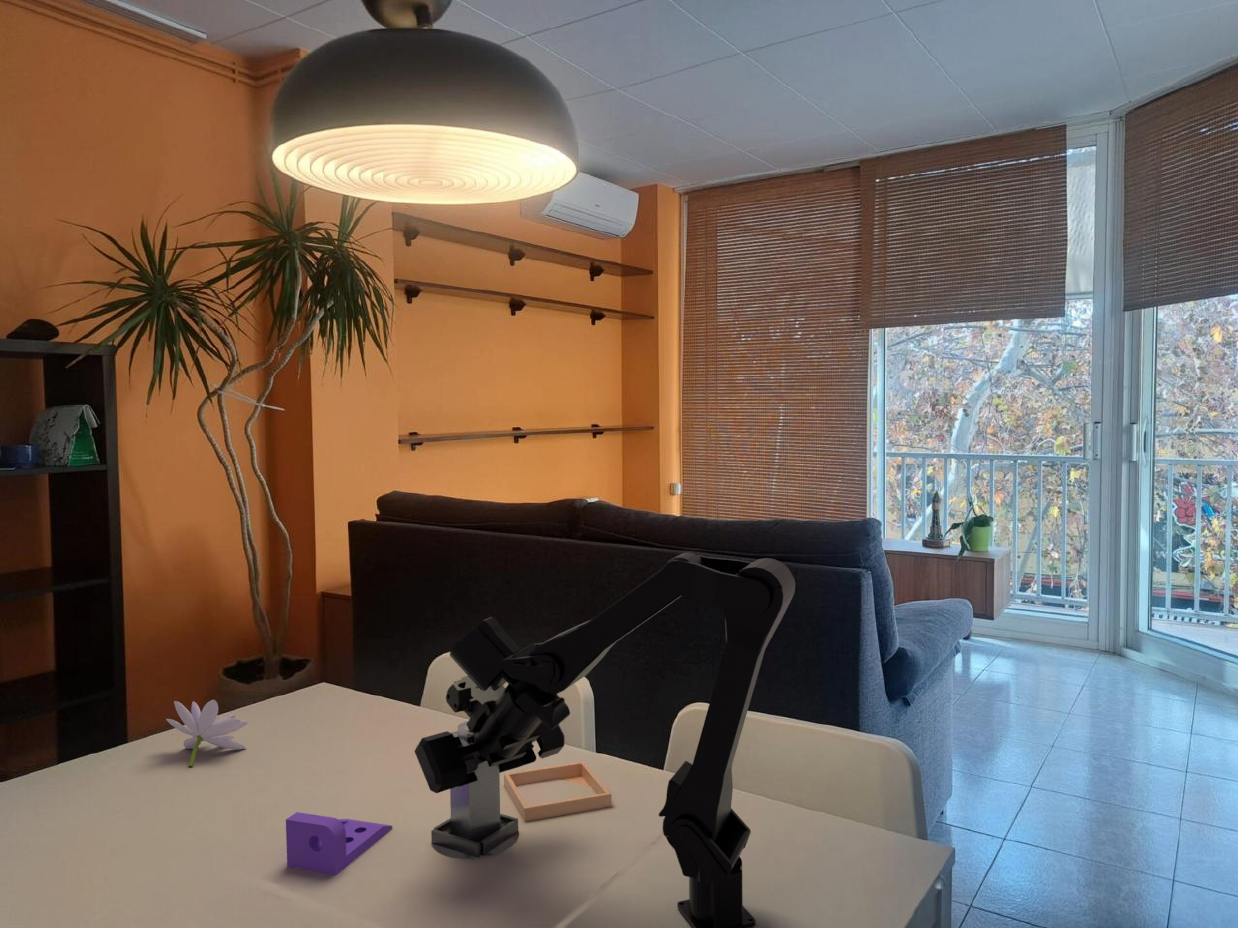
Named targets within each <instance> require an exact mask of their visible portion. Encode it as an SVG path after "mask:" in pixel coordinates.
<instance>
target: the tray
mask: <svg viewBox="0 0 1238 928" xmlns="http://www.w3.org/2000/svg"><path fill="white" fill-rule="evenodd" d="M551 780H561V781H565V782H570V783H573V784H578V785H582V786H586V787H589V788H591V789H592V790H593V791H594V792H595V794H592V795H586V796H579V797H574V798H568V799H562V800H555V801H550V802H545V803H537V804H532V805H528V804H527V801H525V799H524V797H523V796H522V794H521V792H520V791H519V789H518V788H517V786H520V785H521V786H522V785H526V784H533V783H541V782H546V781H551ZM503 787H504V788H505V790H506V792H507V793H508V795H509V796H510V798H511V800H512V802H513V804H514V805H515V807H516V809H517V810H518V812H519V814H520V816H521V818H522V820H523V821H524V822H532V821H535V820H543V819H548V818H552V817H558V816H565V815H570V814H571V815H572V814H576V813H581V812H588V811H592V810H593V811H594V810H599V809H605V808H609V807H612V793H611V791H610V790H609V789H608V788H607V787H606V786H605V784H604V783H603V782H602V780H601V779H599V778H598V776H597V775H596V774H595V772H594V771H593V770H592V769H591V768H590V767H589V765H588V764H587V763H586V762H585V761H583V760H582V761H579V762H571V763H564V764H559V765H551V766H545V767H539V768H532V769H527V770H519V771H514V772H513V771H512V772H507V773H503Z"/></svg>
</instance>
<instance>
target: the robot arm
mask: <svg viewBox="0 0 1238 928" xmlns="http://www.w3.org/2000/svg"><path fill="white" fill-rule="evenodd" d="M795 592H796V581H795V577H794V576H793V574H792V572H791V570H790V568H788V566H786V564H785V563H783V562H781V561H779V560H777V559H775V558H770V557H769V558H768V557H764V558H759V559H756V560H754V561H753V562H750V561H746V560H740V559H733V558H725V557H724V558H723V557H711V556H706V555H705V556H704V555H700V554H696V553H693V552H683V553H681V554H679V555H676V556H675V557H672V558H671V559H668V560H667V561H666V562H665V563H664V564H663V566H662V567H661V568H660V569H659V570H657V571H656V572H654V573H653V574H652V575H650V576H648V578H647V579H645V580H643V581H642V582H640V583H639V584H638V585H637V586H635V587H634V588H632V589H630V590H629V591H628V592H627V593H626V594H624V595H623V596H622V597H620V598H618V599H617V600H616V601H614V602H613V603H612V604H610V605H609V606H607V608H605V609H604V610H602V611H601V612H600V613H598V614H597V615H595V616H594V617H593V618H592V619H590V620H587V621H585V622H582V623H581V624H578V625H575V626H574V627H571V628H570V629H567V630H565V631H563V632H560V633H559V634H556V635H555V636H553V637H551V638H549V639H548V640H546V641H544V642H539V643H531V644H530V645H527V646H526V647H524V648H522V649H521V648H520V647H519V646H518V644H517V643H516V642H515V641H514V640H513V639H512V638H511V637H510V636H509V635H508V634H507V632H506V631H505V630H504V629H503V628H502V627H501V625H500V624H499V622H498V621H497V620H496V619H495V618H494V617H493V616H490V617H488V618H486V619H483V620H482V621H481V622H480V623H479V624H478V626H476V627H475V628H474V629H473V630H471V631H470V632H469V633H468V634H467V635H465V637H463V638H461V639H460V640H458V641H457V642H456V643H455V644H454V645H453V647H452V649H450V653H449V657H450V658H451V659H452V660H453V661H454V662H455V664H457V666H458V667H460V669H461V670H462V671H463V672H464V673H465V675H466V676H462V677H461V678H460V680H459V679H458V680H454V683H452V684H451V685H450V686H449V687H448V689H447V691H446V695H445V701H446V703H447V705H448V706H449V707H450V709H451V710H452V711H453V713H460V712H464V713H465V714H466V715H467V717H469V720H467V721H468V722H467V727H468V729H469V731H470V733H472V732H474V734H475V735H474V736H471V737H468V738H467V740H466V741H467V743H468V746H463V745H462V743H461V740H460V738H459V736H457V737H454V736H453V734H452V732H450V731H443V732H440V733H439V732H438V733H436V734H433V735H432V734H431V735H429V736H428V735H427V736H424V737H422V738H421V739H420V741H419V742H418V744H417V745H416V747H415V749H414V754H415V755H416V759H417V761H418V764H419V766H420V769H421V771H422V773H423V776H424V779H425V781H426V783H427V786H428V788H429V790H430V791H431V792H433V793H435V794H439V793H442V792H445V791H447V790H450V789H451V788H455V787H460V786H463V785H466V784H469V783H472V782H475V781H478V779H477V777H476V774H475V771H476V770H477V769H478V764H482V763H485V762H488V765H489V767H492V766H495V765H498V764H499V774H501V773H504V772H506V771H511V770H515V769H517V768H521V767H523V766H527V765H530V764H532V763H535V762H536V761H537V755H538V757H539V758H540V759H545V758H548V757H551V756H554V755H556V754H559V753H560V752H561V750H562V749H563V748H564V747H565V742H566V736H565V734H564V732H563V730H562V728H561V726H560V724H561V723H562V722H563V721H565V720H566V718H568V717H569V716H570V714H571V711H570V708H569V706H568V704H567V703H566V702H565V699H566V698H564V697H561V696H559V694H560V693H562V692H563V691H566V690H567V689H568V688H570V687H572V686H573V685H574V684H576V683H577V682H578V681H580V680H582V679H583V678H584V677H586V676H587V675H588V674H590V672H591V671H592V670H593V668H594V667H596V666H597V664H599V662H600V661H601V660H602V659H603V658H604V657H605V656H606V654H607V653H608V652H609V651H610V650H611V648H612V647H613V646H614V645H615V644H616V643H617V642H618V641H620V640H622V639H623V638H624V637H625V636H627V635H629V634H630V633H632V632H633V631H634V630H636V629H637V628H638V627H640V626H641V625H642V624H644V623H645V622H647V621H648V620H649V619H651V618H652V617H654V616H655V615H657V614H658V613H659V612H661V611H662V610H664V609H665V608H667V607H668V606H669V605H671V604H672V603H674V602H675V601H676V600H678V599H680V598H681V597H682V596H685V597H688V598H692V599H695V600H697V601H699V602H702V603H704V604H706V605H709V606H711V607H715V608H719V609H724V610H725V612H724V629H725V646H724V650H723V654H722V657H721V661H720V664H719V668H718V672H717V675H716V679H715V683H714V687H713V690H712V693H711V697H710V701H709V704H708V707H707V711H706V715H705V719H704V722H703V726H702V729H701V732H700V737H699V740H698V744H697V748H696V750H695V754H694V758H693V760H692V761H693V762H692V763H691V762H689V761H687V760H685V761H684V762H683V763H682V764H681V765H680V767H679V768H678V769H677V770H676V771H675V773H674V774H673V775H672V777H670V779H669V780H668V783H667V786H666V787H667V788H666V797H665V798H666V799H665V803H664V806H663V808H662V809H661V810H660V811H659V813H658V816H659V817H660V818H661V817H664V818H663V822H662V834H663V836H664V837H665V838H666V840H667V842H668V844H669V845H670V846H671V848H672V849H673V850H674V852H675V855H676V857H677V861H678V864H679V867H680V869H681V872H682V875H683V876H684V877H687V878H688V899H685V900H679V901H678V902H677V903H676V904H677V906H676V907H677V909H678V911H679V912H680V913H681V914H682V916H683V917H684V918H685V919H686V921H687V923H689V924H690V926H691V927H692V928H751V927H754V926H756V919H755V918H754V916H752V914H751V913H750V912H749V910H748V909H746V908H745V907H744V905H743V903H744V902H743V898H744V897H743V860H742V858H741V854H742V852H743V850H744V849H745V848H746V847H747V844H748V840H749V838H750V836H751V834H752V831H751V829H750V828H749V826H748V825H747V824H746V823H745V822H744V821H743V820H742V818H740V816H739V815H738V814H737V813H736V812H735V811H734V809H733V808H732V802H733V787H734V786H733V771H732V768H733V763H734V760H735V759H734V758H735V756H736V752H737V749H738V745H739V742H740V739H741V735H742V732H743V728H744V725H745V721H746V717H747V715H748V711H749V706H750V704H751V699H752V696H753V693H754V689H755V687H756V683H757V679H758V676H759V673H760V669H761V665H762V662H763V658H764V656H765V652H766V648H767V647H768V644H770V641H771V639H772V638H773V635H774V634H775V632H776V630H777V629H778V626H779V625H780V623H781V621H782V619H783V617H784V615H785V614H786V611H787V609H788V607H789V605H790V603H791V601H792V599H793V597H794V594H795ZM506 683H507V686H506V687H505V686H504V685H505V684H506ZM535 743H536V744H537V745H538V747H539V750H538V752H537V755H536V753H535V750H534V747H535V746H534V744H535Z"/></svg>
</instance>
